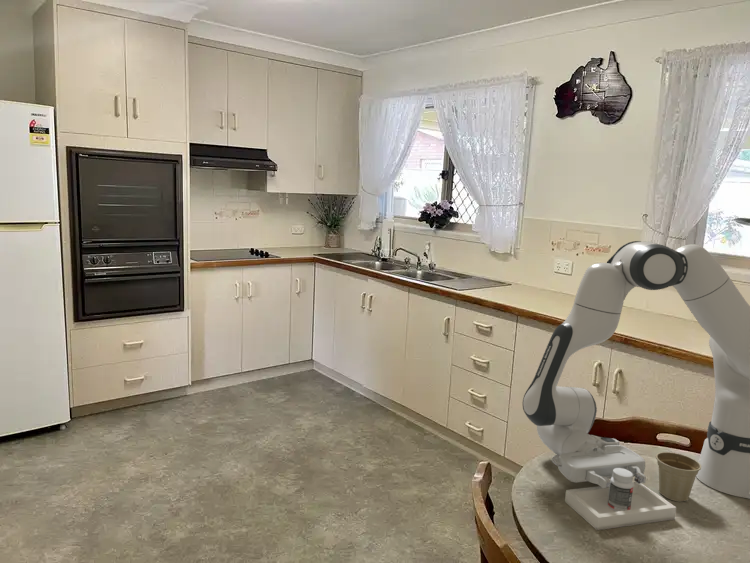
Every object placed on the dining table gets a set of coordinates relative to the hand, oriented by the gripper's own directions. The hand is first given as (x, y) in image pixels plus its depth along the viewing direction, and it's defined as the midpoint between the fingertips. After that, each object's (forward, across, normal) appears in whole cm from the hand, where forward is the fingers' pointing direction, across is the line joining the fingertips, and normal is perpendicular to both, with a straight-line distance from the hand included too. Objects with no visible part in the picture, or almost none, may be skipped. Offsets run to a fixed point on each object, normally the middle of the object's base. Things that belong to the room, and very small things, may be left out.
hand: (625, 482), depth 121 cm
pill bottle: (-1, 0, +7) cm, 7 cm away
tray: (-1, 0, +7) cm, 7 cm away
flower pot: (-4, +18, +7) cm, 20 cm away
